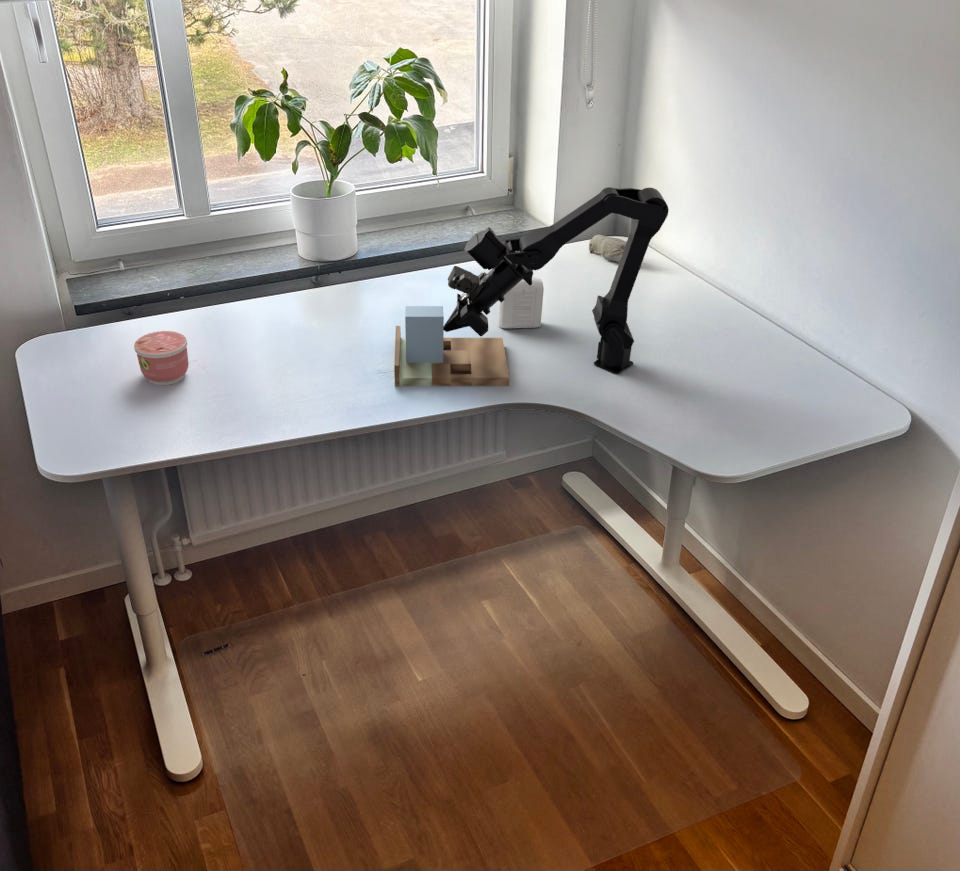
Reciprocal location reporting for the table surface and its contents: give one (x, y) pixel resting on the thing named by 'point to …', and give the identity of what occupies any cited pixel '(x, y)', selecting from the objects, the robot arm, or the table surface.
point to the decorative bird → (607, 247)
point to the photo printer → (522, 305)
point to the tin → (424, 334)
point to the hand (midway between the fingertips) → (444, 329)
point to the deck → (455, 364)
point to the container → (162, 356)
